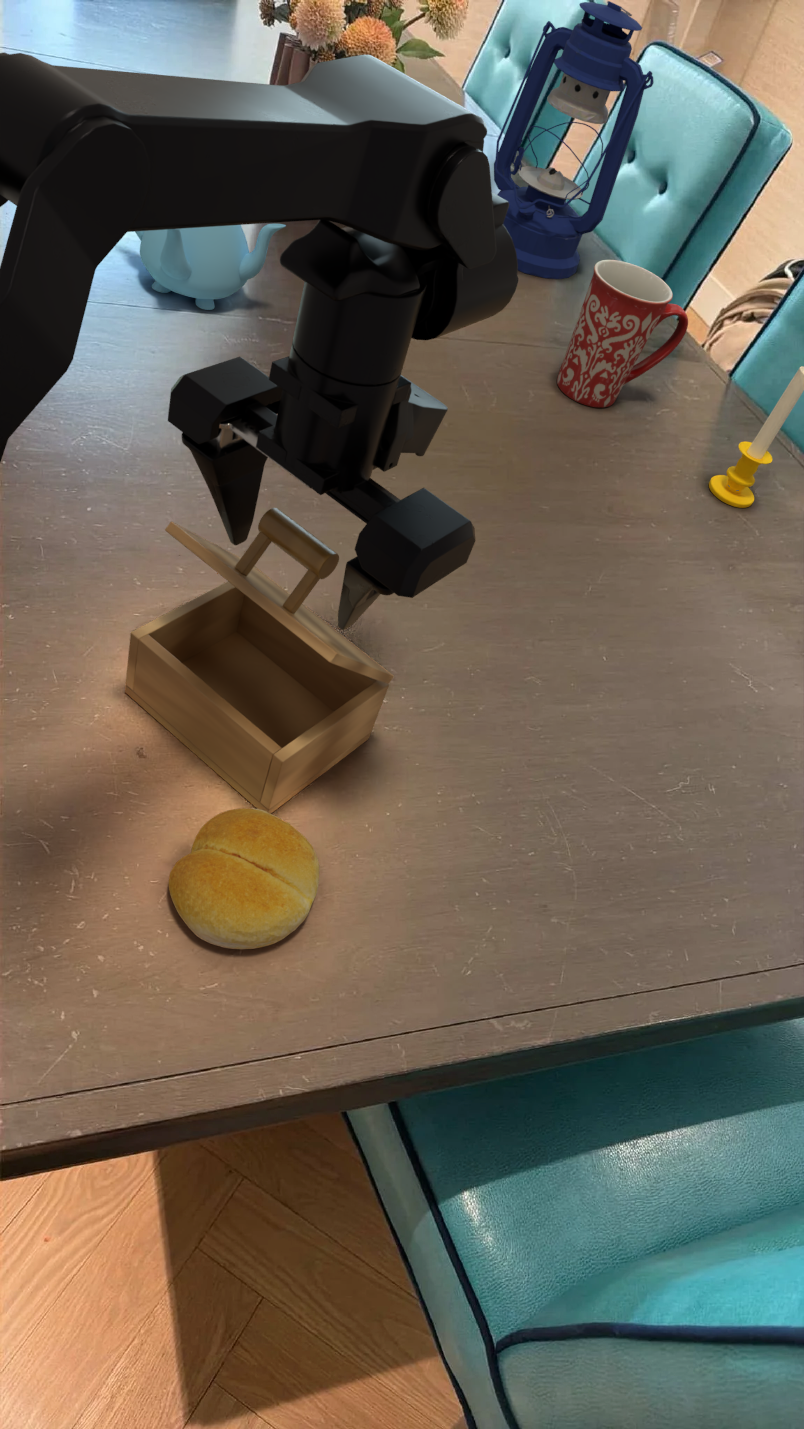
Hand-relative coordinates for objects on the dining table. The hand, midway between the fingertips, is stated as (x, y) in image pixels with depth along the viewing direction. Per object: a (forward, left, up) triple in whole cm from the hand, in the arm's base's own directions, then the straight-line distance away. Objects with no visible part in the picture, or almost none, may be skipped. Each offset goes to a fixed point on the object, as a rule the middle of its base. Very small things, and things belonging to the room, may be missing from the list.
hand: (291, 583), depth 62 cm
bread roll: (-6, -13, -12) cm, 19 cm away
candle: (+62, +20, -12) cm, 66 cm away
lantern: (+66, +74, -12) cm, 100 cm away
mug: (+56, +39, -12) cm, 69 cm away
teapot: (+13, +59, -12) cm, 61 cm away
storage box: (-1, 0, -12) cm, 12 cm away
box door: (0, 0, -2) cm, 2 cm away
